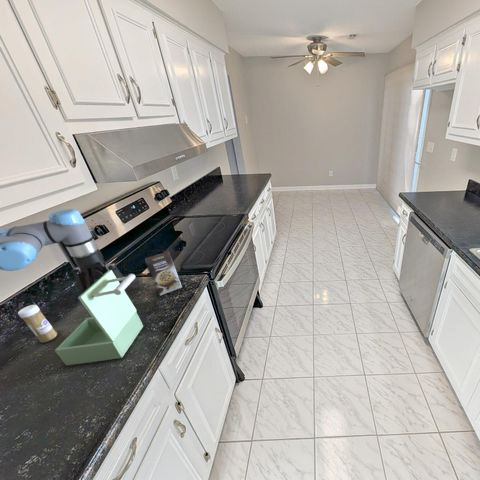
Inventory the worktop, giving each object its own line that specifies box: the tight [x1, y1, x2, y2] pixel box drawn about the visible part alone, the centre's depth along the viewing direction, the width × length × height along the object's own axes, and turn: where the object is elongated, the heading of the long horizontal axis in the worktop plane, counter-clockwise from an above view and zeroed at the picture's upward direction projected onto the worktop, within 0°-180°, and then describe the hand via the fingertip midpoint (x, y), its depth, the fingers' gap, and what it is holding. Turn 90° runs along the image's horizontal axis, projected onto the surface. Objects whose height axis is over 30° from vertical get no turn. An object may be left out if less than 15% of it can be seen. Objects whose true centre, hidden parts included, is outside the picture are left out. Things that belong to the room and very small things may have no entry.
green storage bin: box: [54, 311, 144, 366], centre depth 84 cm, size 17×14×7 cm
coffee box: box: [144, 251, 183, 296], centre depth 108 cm, size 9×6×16 cm
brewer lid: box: [77, 270, 137, 342], centre depth 79 cm, size 17×14×9 cm
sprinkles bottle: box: [17, 304, 58, 343], centre depth 87 cm, size 5×5×14 cm
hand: (113, 302), depth 99 cm, fingers closed on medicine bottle, 8 cm apart
